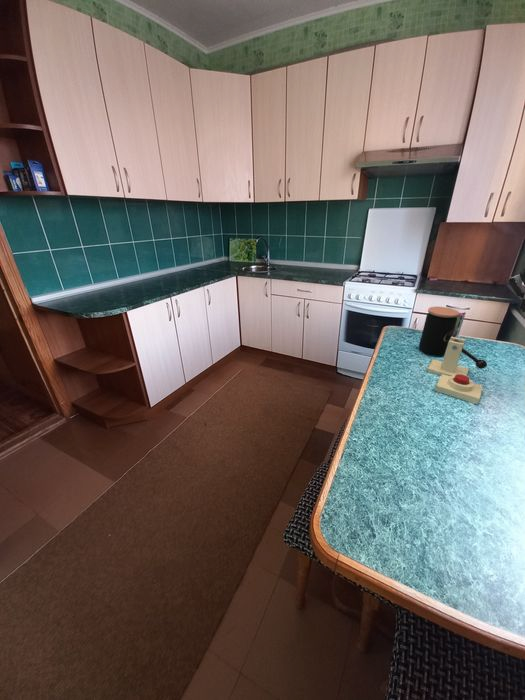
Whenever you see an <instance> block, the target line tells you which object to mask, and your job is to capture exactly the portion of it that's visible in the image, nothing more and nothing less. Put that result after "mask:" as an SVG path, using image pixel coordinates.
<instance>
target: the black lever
mask: <svg viewBox="0 0 525 700" xmlns="http://www.w3.org/2000/svg"><path fill="white" fill-rule="evenodd" d="M454 342H459V341H457V340H456V339H455V340H454ZM459 343H460V342H459ZM461 353H463V355H465V356H466V357H468V358H469V359H470V360H472V361H473V362H474V363H475V366H476V368H478V369H481V370H482V369H485V368H487V367H488V362H487V360H485V359H482V358H481V359H479V358H477V357H476V356H474V355H473V354H472V353H471V352H469V351H468V350H467V349H466V348H464V347H463V348H462V351H461Z"/></svg>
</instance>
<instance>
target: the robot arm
mask: <svg viewBox="0 0 525 700" xmlns="http://www.w3.org/2000/svg"><path fill="white" fill-rule="evenodd" d="M520 279H521V282H522V284H523V286H525V266H524V268H523V269H522V270H521V271H519V274H516V275H514V276H510V277H509V278H508V283H509V285H510V286H511V288H512V289H513V291H514V293H515V295H516V296H517V297H518V298H521V302H520V304H519V307H518V308H519V310H520V312H522V313H525V291H522V289H521V287H520V286H519V283H520Z"/></svg>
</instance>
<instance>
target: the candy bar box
mask: <svg viewBox="0 0 525 700" xmlns="http://www.w3.org/2000/svg"><path fill="white" fill-rule="evenodd" d="M436 307H440V306H438V305H437V306H436ZM455 310H456V311H458V312H459V315H458V316H457V322H456V325H455V329H454V332H453V335H452V337H455V338H459V335H460V331H461V329H462V326H463V322H464V320H465V317H466V311H463V310H459V309H458V310H457V309H455Z"/></svg>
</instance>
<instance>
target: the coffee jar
mask: <svg viewBox="0 0 525 700" xmlns="http://www.w3.org/2000/svg"><path fill="white" fill-rule="evenodd" d="M456 310H457V309H454V308H451V307H445V306H439V307H437V306H431V307H428V309H427V312H428V313H427V314H426V316H425V320H424V324H423V328H422V332H421V337H420V340H419V343H418V348H419V351H420V352H421V353H423V354H425V355H427V356H430V357H444V356H445V352H446V349H447V346H448V342H449V340H450V339H451V337H452V335H453V332H454V329H455V325H456V322H457V316H458V315H459V312H458V311H459V310H458V311H456Z"/></svg>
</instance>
